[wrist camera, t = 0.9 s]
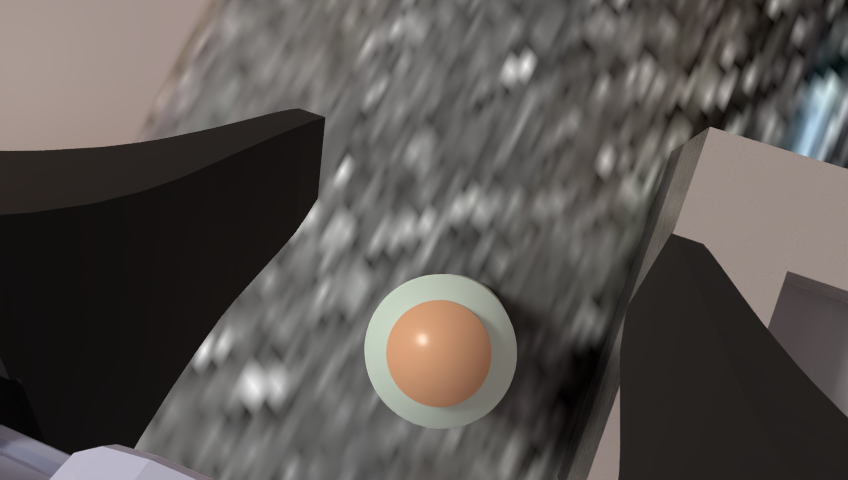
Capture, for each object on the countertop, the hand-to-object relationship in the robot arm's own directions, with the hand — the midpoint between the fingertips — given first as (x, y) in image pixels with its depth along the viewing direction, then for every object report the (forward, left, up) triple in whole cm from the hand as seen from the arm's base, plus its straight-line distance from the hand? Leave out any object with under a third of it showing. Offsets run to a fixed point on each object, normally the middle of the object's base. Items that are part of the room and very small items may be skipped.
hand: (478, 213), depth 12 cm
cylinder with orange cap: (-4, 0, -12) cm, 13 cm away
